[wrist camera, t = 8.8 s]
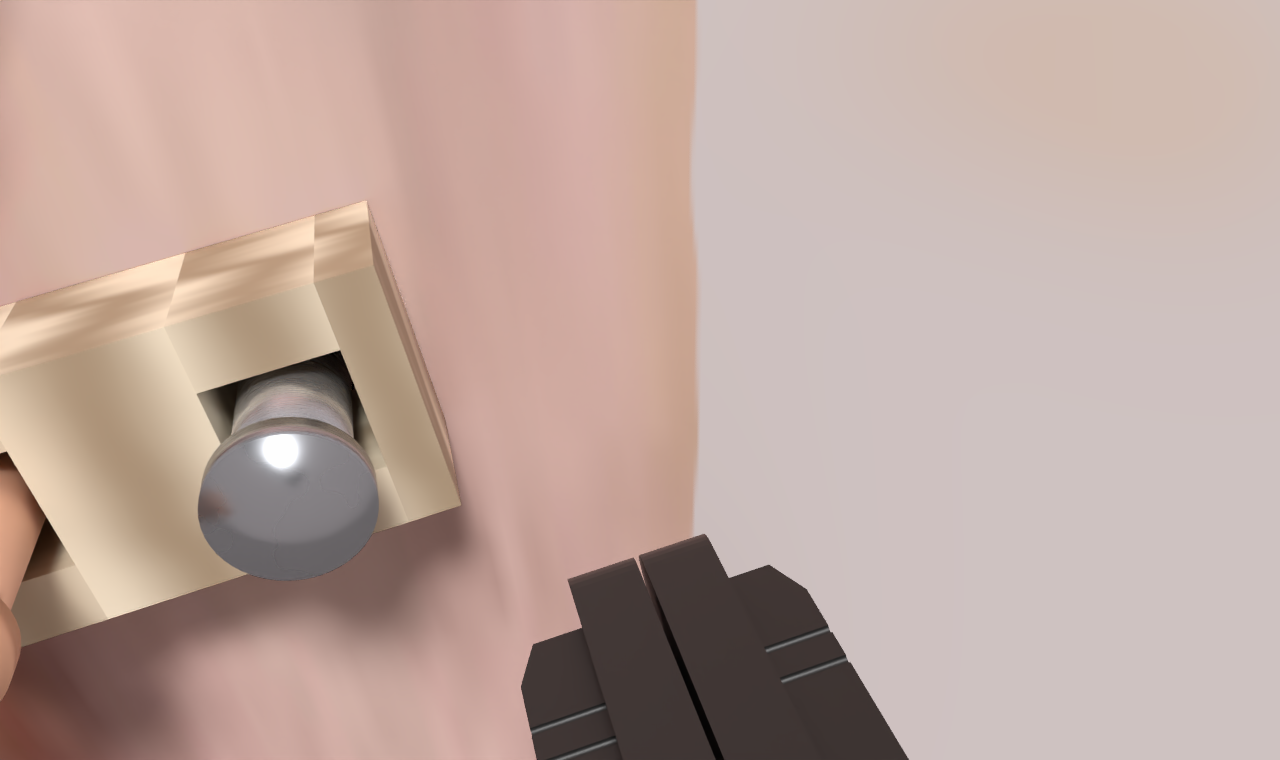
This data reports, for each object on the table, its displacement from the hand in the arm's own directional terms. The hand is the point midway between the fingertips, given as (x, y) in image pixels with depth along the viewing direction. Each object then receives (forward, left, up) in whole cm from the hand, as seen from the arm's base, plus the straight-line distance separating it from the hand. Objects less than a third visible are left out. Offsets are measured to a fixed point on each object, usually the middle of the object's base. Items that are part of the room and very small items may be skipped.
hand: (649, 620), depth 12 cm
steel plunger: (-2, -11, -29) cm, 31 cm away
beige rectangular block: (-6, -14, -29) cm, 33 cm away
